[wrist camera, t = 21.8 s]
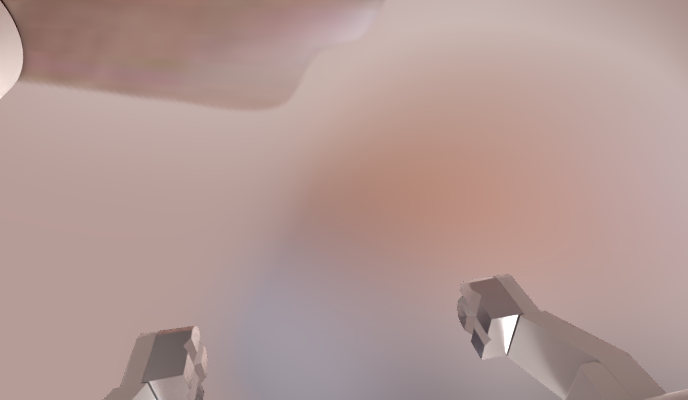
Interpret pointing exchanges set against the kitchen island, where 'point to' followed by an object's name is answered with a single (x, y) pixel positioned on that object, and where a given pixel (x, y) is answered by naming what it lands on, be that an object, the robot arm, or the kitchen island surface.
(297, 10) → the kitchen island surface
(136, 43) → the kitchen island surface
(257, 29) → the kitchen island surface
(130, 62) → the kitchen island surface
